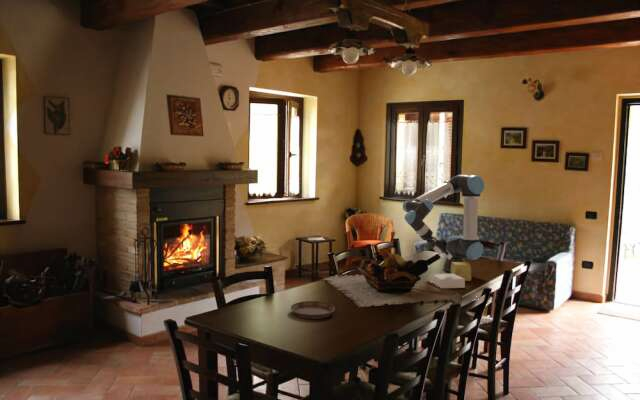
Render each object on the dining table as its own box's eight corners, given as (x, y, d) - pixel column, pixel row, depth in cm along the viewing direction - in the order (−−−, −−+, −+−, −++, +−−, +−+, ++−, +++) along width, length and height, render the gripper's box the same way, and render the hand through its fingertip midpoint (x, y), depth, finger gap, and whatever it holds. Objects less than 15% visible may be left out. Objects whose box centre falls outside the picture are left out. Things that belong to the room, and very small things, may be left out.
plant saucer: (319, 323, 236) (319, 316, 236) (281, 315, 247) (281, 308, 247) (342, 312, 254) (342, 305, 253) (306, 305, 265) (306, 298, 264)
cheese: (471, 281, 328) (472, 265, 327) (453, 280, 328) (454, 264, 327) (467, 277, 338) (467, 261, 337) (450, 276, 338) (450, 261, 337)
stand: (452, 281, 325) (453, 273, 324) (464, 287, 310) (465, 279, 310) (429, 282, 321) (430, 274, 321) (440, 288, 307) (441, 279, 306)
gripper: (412, 233, 337) (433, 256, 341) (428, 239, 312) (450, 264, 317) (420, 224, 337) (441, 248, 342) (437, 230, 313) (459, 255, 318)
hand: (445, 255), depth 329 cm, fingers open, 13 cm apart
